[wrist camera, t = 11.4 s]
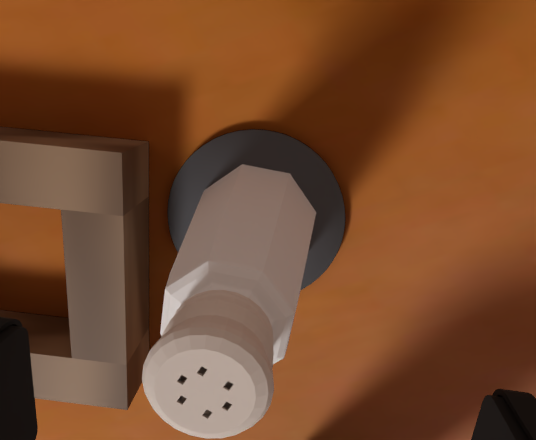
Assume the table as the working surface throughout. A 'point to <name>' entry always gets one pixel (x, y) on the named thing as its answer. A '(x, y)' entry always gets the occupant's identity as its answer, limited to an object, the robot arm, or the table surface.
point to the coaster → (273, 158)
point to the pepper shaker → (230, 304)
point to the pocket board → (87, 261)
